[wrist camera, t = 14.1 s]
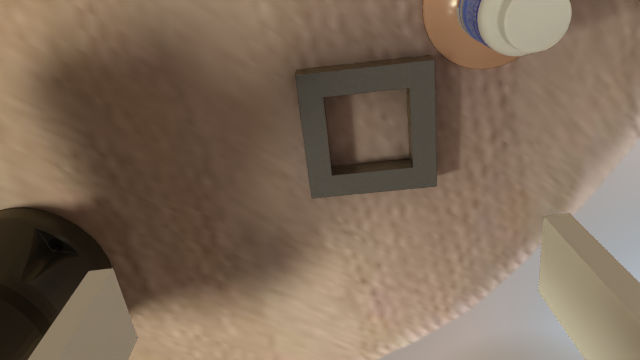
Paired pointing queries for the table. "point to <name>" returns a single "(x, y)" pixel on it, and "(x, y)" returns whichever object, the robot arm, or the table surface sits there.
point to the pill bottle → (515, 23)
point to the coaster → (457, 38)
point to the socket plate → (363, 79)
